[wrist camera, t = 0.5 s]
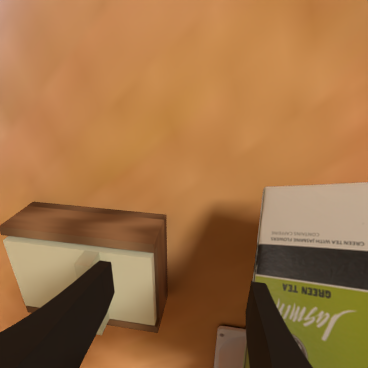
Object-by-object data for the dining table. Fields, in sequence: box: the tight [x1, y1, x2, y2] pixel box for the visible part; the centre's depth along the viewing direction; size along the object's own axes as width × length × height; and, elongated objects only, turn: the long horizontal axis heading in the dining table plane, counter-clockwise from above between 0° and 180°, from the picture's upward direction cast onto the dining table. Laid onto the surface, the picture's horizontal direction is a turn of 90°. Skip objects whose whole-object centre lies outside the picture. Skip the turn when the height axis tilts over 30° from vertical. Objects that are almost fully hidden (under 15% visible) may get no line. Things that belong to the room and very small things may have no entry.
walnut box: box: [0, 202, 168, 333], centre depth 24 cm, size 13×10×4 cm
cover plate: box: [3, 236, 157, 335], centre depth 22 cm, size 13×8×2 cm, turn 89°
